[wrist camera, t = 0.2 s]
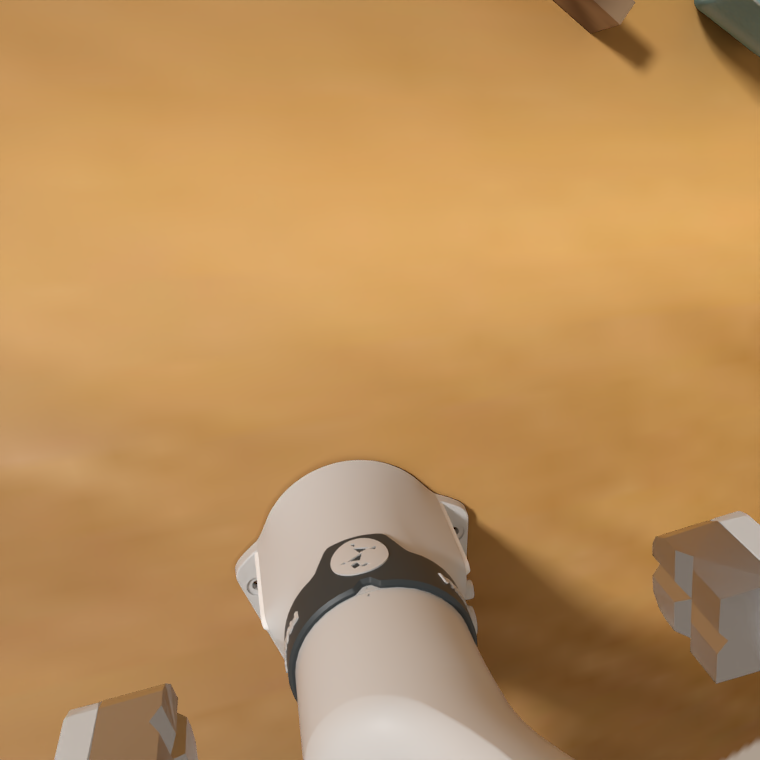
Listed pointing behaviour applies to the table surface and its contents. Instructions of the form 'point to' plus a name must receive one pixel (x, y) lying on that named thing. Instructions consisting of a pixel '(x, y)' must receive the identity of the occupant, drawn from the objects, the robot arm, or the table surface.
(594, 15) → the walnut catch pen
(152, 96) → the table surface
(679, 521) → the table surface
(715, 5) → the flower pot
